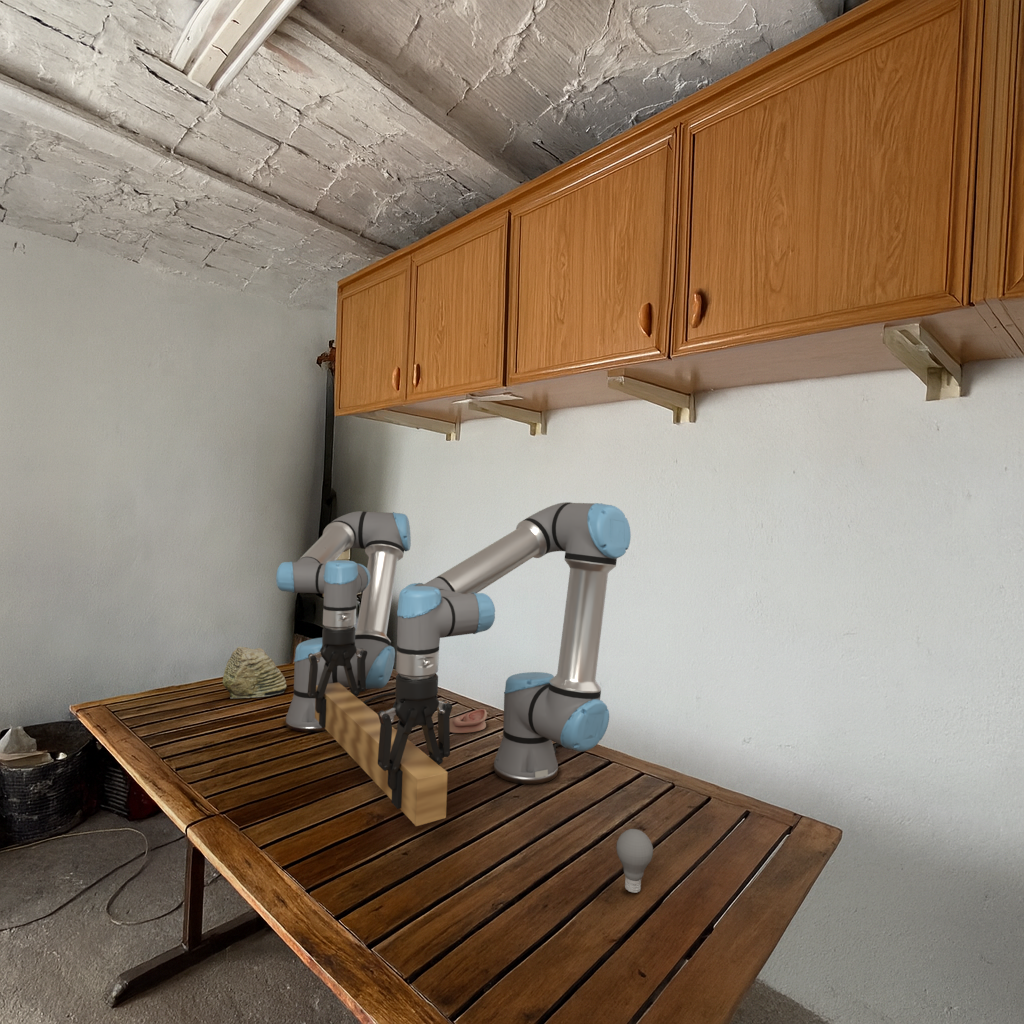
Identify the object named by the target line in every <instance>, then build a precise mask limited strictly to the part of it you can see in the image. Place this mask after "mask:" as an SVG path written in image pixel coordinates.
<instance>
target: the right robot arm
mask: <svg viewBox="0 0 1024 1024" xmlns="http://www.w3.org/2000/svg"><path fill="white" fill-rule="evenodd" d="M631 536H632V535H631V527H630V523H629V520H628V518H627V517H626V515H625V513H624V512H623V510H621V509H620V508H619V507H617V506H615V505H612V504H606V503H597V502H594V503H591V502H571V501H570V502H567V501H566V502H560V503H555V504H552V505H550V506H547V507H545V508H543V509H541V510H539V511H537V512H534V514H532V515H529V516H527V517H526V518H524V519H523V520H521V521H519V522H518V523H517V525H516V527H515V529H514V530H513V531H511V532H510V533H508V534H505V536H503V537H501V538H499V539H498V540H496V541H494V542H493V543H491V544H489V545H488V546H486V547H485V548H483V549H481V550H479V551H478V552H476V553H473V554H472V555H471V556H470V557H468V558H465V560H462V561H461V562H459V563H457V564H456V565H454V566H452V567H451V568H449V569H448V570H446V571H444V572H442V573H441V574H439V575H437V576H436V577H434V578H433V579H431V580H429V581H427V582H425V583H423V582H418V583H417V582H414V583H410V584H407V586H405V587H403V588H402V589H401V590H400V592H399V595H398V603H397V611H396V615H397V631H396V632H397V633H396V634H397V636H396V662H395V663H396V664H395V672H396V673H397V674H396V676H395V691H394V692H395V694H394V695H395V699H394V700H395V701H394V703H393V706H392V708H389V709H387V710H385V711H384V710H379V712H378V713H377V714H378V716H379V720H380V723H381V726H380V738H379V751H378V765H379V766H380V767H381V768H382V769H383V770H384V771H387V770H388V787H389V788H390V789H391V790H392V800H391V804H392V805H393V806H394V807H395V808H396V809H397V810H400V809H399V808H401V805H402V774H403V771H401V770H400V769H399V766H400V762H401V759H402V756H403V752H404V749H405V746H406V742H407V739H408V740H409V736H410V734H411V733H412V730H413V728H416V727H418V726H421V729H422V732H423V737H424V739H425V745H426V748H427V752H428V757H430V758H431V759H432V760H433V761H435V762H436V763H437V764H438V765H439V766H441V765H442V764H443V762H444V758H449V757H450V755H451V737H450V736H451V732H450V716H451V714H452V710H453V704H452V703H450V702H449V701H448V700H445V699H443V700H439V698H438V693H439V675H438V674H437V673H438V671H439V663H440V662H439V661H440V660H439V659H440V654H439V653H440V641H441V639H443V638H449V637H457V636H464V635H471V634H472V635H476V634H478V633H482V632H486V631H488V630H490V629H491V628H492V627H493V625H494V623H495V620H496V608H495V604H494V601H493V600H492V598H491V597H490V596H489V595H488V594H487V593H483V592H481V591H483V590H484V589H485V588H488V587H489V586H490V585H492V584H494V583H495V582H497V581H498V580H500V579H501V578H504V576H506V575H508V574H510V573H511V572H512V571H514V570H515V569H517V568H519V567H520V566H521V565H523V564H525V563H527V562H528V561H529V560H531V559H540V558H542V557H544V556H546V555H547V554H549V553H550V554H551V553H555V552H564V561H565V563H566V564H567V566H569V567H568V568H569V574H568V581H567V582H568V583H567V591H566V600H565V608H564V617H563V623H562V624H563V625H562V632H561V640H560V648H559V656H558V657H559V658H558V664H557V672H556V674H555V676H554V674H552V673H548V672H541V671H535V672H534V671H531V672H530V671H529V672H519V673H515V674H512V675H510V676H508V677H507V679H506V681H505V686H504V687H505V688H504V692H503V726H502V727H503V730H502V732H503V733H502V738H501V741H500V744H499V747H498V749H497V752H496V755H495V757H494V761H493V771H494V773H495V774H496V775H497V776H498V777H499V778H500V779H503V780H505V781H507V782H511V783H515V784H519V785H520V784H521V785H539V784H544V783H547V782H550V781H552V780H554V779H555V778H556V777H557V776H558V773H559V763H558V759H557V757H556V756H557V755H556V753H557V747H563V748H565V749H567V750H573V751H575V752H580V753H582V752H587V751H591V750H592V749H594V748H595V747H596V746H597V745H598V744H599V742H600V741H601V740H602V739H603V737H604V736H605V734H606V732H607V730H608V727H609V722H610V711H609V708H608V706H607V704H606V703H605V702H604V701H603V700H601V696H602V695H601V694H602V687H601V686H600V684H599V683H598V682H597V680H596V677H597V670H598V661H599V654H600V645H601V636H602V629H603V620H604V612H605V603H606V596H607V588H608V587H607V585H608V579H609V578H608V577H609V573H610V572H611V571H613V570H614V569H615V568H616V567H617V562H618V561H617V560H618V559H619V558H621V557H623V556H624V555H625V554H626V553H627V552H626V551H627V550H629V547H630V545H631V544H630V543H631V538H632V537H631ZM436 711H437V725H438V727H437V737H436V733H435V729H434V728H435V724H434V721H433V715H434V714H435V712H436ZM395 717H397V719H398V721H397V724H396V728H397V729H396V730H397V732H396V736H395V739H394V742H393V746H392V749H391V738H392V727H393V723H394V721H395ZM553 742H554V744H553ZM390 750H391V752H390Z"/></svg>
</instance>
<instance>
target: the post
mask: <svg viewBox="0 0 1024 1024" xmlns="http://www.w3.org/2000/svg"><path fill="white" fill-rule="evenodd" d="M317 687H318V685H316V690H317ZM323 697H324V698H325V699H326V722H325V727H324V728H325V729H326V730H325V731H327V733H328V734H329V735H330V736H331V737H332V738H333V739H334V740H335V741H336V742H337V744H338V745H339V746H341V747H342V749H343V750H344V751H345V752H346V753H347V755H349V757H351V758H352V760H353V761H354V762H355V763H356V764H357V765H358V766H359V767H360V768H361V769H362V771H364V772H365V774H367V775H368V776H369V778H370V779H371V780H372V781H373V782H374V783H375V784H376V785H377V786H378V787H379V789H380V790H382V792H383V793H384V794H385V795H386V796H387V797H388V798H389V799H390V800H391V801H392V790H391V789H390V788H389V787H388V770H387V771H384V770H383V769H382V768H381V767H380V766H379V765H378V751H379V738H380V726H381V723H380V720H379V716H378V713H377V712H376V711H374V710H373V709H372V708H371V707H369V706H368V705H367V703H365V704H364V703H363V702H364V701H362V700H361V699H360V698H359V697H358V698H357V697H356V696H355V695H353V694H352V693H351V691H350V689H348V688H347V687H344V686H343V685H341V684H340V683H339V682H337V683H330V684H327V687H326V690H325V693H324V696H323ZM315 704H316V699H315ZM315 719H316V720H317V721H318V722H319V713H317V712H316V710H315ZM396 732H397V729H396V728H394V726H392V738H391V749H392V746H393V742H394V739H395V736H396ZM390 752H391V750H390ZM399 769H400V770H401V771H403V774H402V805H401V808H399V809H398V810H400V811H401V812H402V813H403V814H404V815H405V817H407V819H409V821H411V823H412V824H413V825H414V826H415V827H419V826H422V825H426V824H430V823H433V822H436V821H440V820H444V819H446V818H447V801H448V799H447V798H448V776H449V775H448V774H449V773H448V771H447V770H446V769H445V768H443V767H442V766H441V765H440V766H439V765H438V764H437V763H436V762H435V761H433V760H432V759H431V758H430V756H429V755H427V754H426V753H425V752H424V751H423V750H421V749H420V748H419V747H418V746H416V744H414V743H413V742H412V741H410V739H409V738H408V739H407V742H406V746H405V749H404V752H403V756H402V759H401V762H400V766H399Z"/></svg>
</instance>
